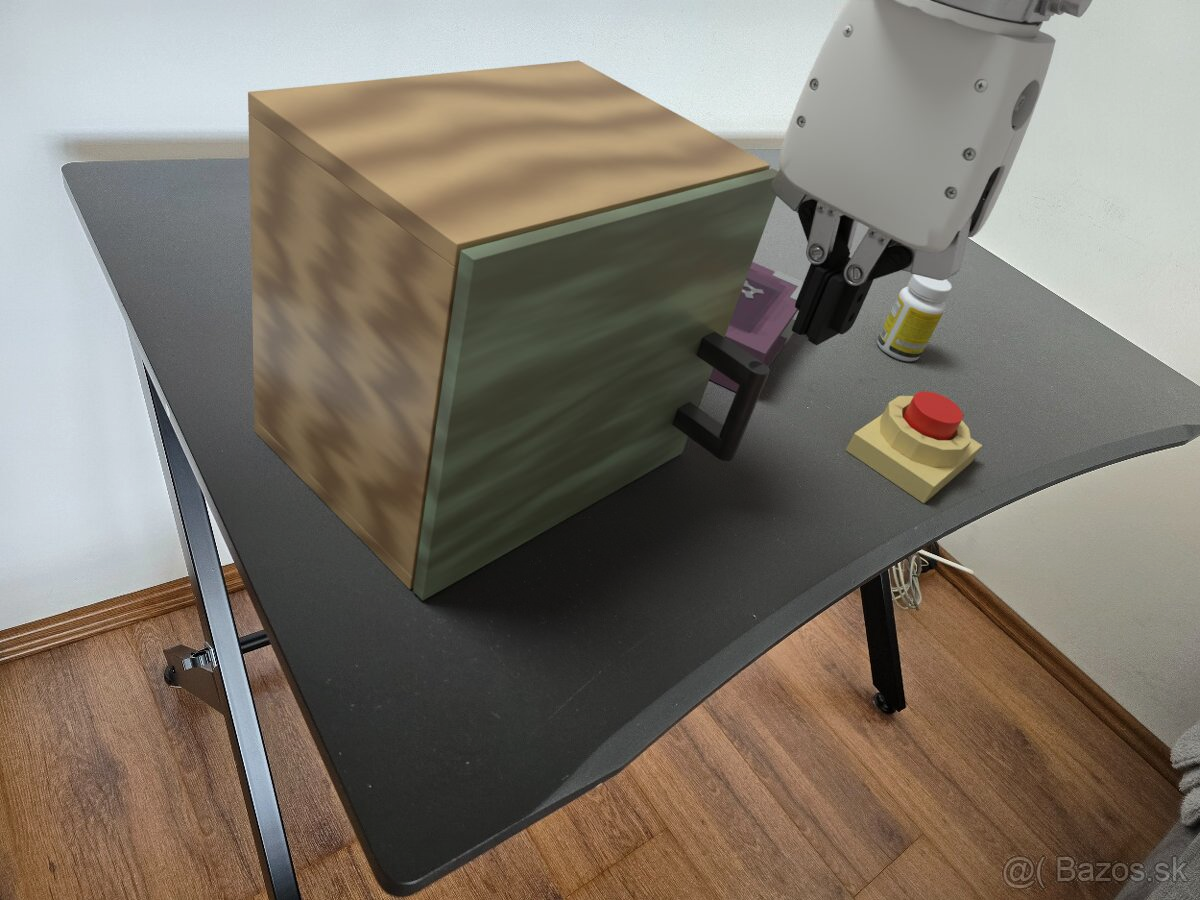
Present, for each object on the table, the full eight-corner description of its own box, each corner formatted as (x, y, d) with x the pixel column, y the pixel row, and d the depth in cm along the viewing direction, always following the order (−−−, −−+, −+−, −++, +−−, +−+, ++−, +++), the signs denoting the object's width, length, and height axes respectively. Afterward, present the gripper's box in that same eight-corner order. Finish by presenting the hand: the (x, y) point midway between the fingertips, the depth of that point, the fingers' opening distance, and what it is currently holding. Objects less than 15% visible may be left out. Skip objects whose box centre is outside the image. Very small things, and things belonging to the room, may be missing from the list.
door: (732, 491, 72) (852, 211, 57) (477, 657, 55) (553, 317, 40) (673, 446, 75) (772, 167, 60) (412, 591, 57) (460, 249, 42)
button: (917, 403, 82) (927, 385, 80) (960, 430, 80) (971, 412, 78) (894, 419, 79) (904, 400, 77) (938, 448, 77) (949, 429, 76)
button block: (897, 413, 86) (916, 380, 84) (972, 461, 83) (993, 428, 80) (845, 450, 80) (863, 414, 77) (923, 504, 76) (945, 468, 74)
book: (796, 328, 95) (814, 286, 92) (748, 398, 83) (766, 353, 80) (583, 234, 100) (593, 192, 97) (509, 287, 88) (517, 241, 85)
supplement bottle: (928, 359, 96) (965, 290, 91) (898, 365, 94) (935, 295, 88) (896, 334, 99) (930, 265, 94) (866, 339, 96) (900, 269, 91)
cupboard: (670, 446, 75) (771, 164, 60) (409, 590, 57) (457, 244, 42) (523, 334, 82) (578, 59, 67) (254, 431, 65) (247, 91, 50)
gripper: (1160, 29, 39) (963, 381, 50) (862, -75, 45) (747, 257, 56) (1108, 37, 34) (902, 426, 45) (781, -81, 40) (673, 285, 51)
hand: (817, 331), depth 51 cm, fingers closed
